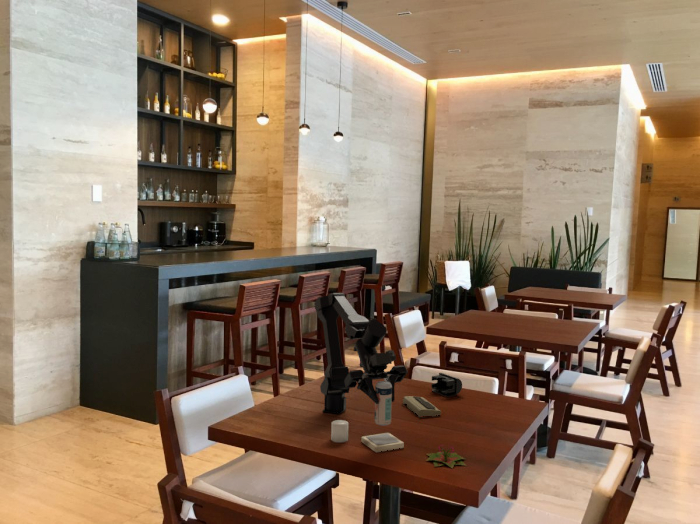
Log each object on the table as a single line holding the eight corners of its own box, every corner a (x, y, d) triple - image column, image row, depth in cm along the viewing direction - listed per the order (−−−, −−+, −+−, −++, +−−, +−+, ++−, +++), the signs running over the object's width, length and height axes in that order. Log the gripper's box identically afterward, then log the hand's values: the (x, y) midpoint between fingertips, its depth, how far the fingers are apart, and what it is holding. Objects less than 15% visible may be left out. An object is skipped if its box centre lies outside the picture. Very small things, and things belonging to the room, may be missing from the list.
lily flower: (460, 452, 172) (460, 437, 172) (474, 470, 160) (474, 453, 160) (418, 454, 170) (419, 438, 170) (430, 471, 158) (430, 454, 158)
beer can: (376, 419, 178) (377, 379, 177) (392, 421, 177) (393, 381, 176) (372, 425, 174) (373, 384, 173) (388, 427, 172) (390, 385, 171)
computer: (441, 416, 203) (441, 407, 203) (418, 418, 201) (419, 408, 201) (423, 403, 218) (424, 394, 218) (402, 404, 216) (402, 395, 216)
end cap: (462, 395, 228) (462, 377, 227) (447, 398, 224) (448, 379, 223) (444, 388, 236) (445, 371, 236) (430, 391, 232) (430, 373, 232)
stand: (361, 441, 178) (361, 436, 178) (388, 437, 182) (388, 432, 182) (376, 452, 170) (376, 446, 170) (403, 447, 174) (403, 442, 173)
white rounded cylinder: (328, 441, 178) (329, 424, 177) (334, 435, 183) (334, 419, 182) (345, 443, 176) (345, 426, 176) (350, 437, 181) (350, 421, 181)
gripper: (349, 343, 173) (366, 391, 164) (405, 338, 181) (424, 384, 172) (337, 364, 181) (352, 411, 172) (391, 358, 189) (409, 403, 180)
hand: (385, 402), depth 174 cm, fingers closed on beer can, 5 cm apart
